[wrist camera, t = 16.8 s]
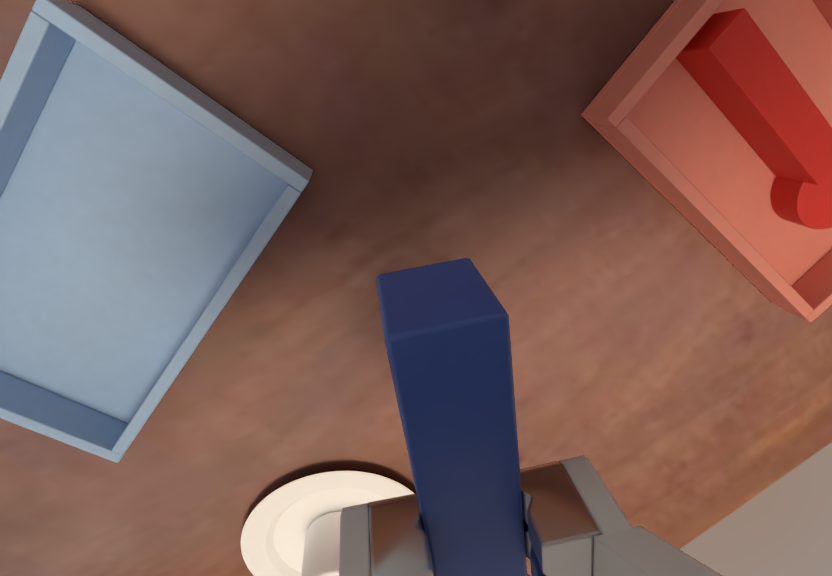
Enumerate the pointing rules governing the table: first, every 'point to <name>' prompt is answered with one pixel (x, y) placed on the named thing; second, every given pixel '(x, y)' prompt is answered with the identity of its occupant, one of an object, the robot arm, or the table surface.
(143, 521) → the table surface
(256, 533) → the candle holder
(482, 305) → the blue spoon
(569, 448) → the table surface
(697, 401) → the table surface
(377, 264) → the table surface
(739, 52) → the red spoon
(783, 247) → the red tray
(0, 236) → the blue tray
